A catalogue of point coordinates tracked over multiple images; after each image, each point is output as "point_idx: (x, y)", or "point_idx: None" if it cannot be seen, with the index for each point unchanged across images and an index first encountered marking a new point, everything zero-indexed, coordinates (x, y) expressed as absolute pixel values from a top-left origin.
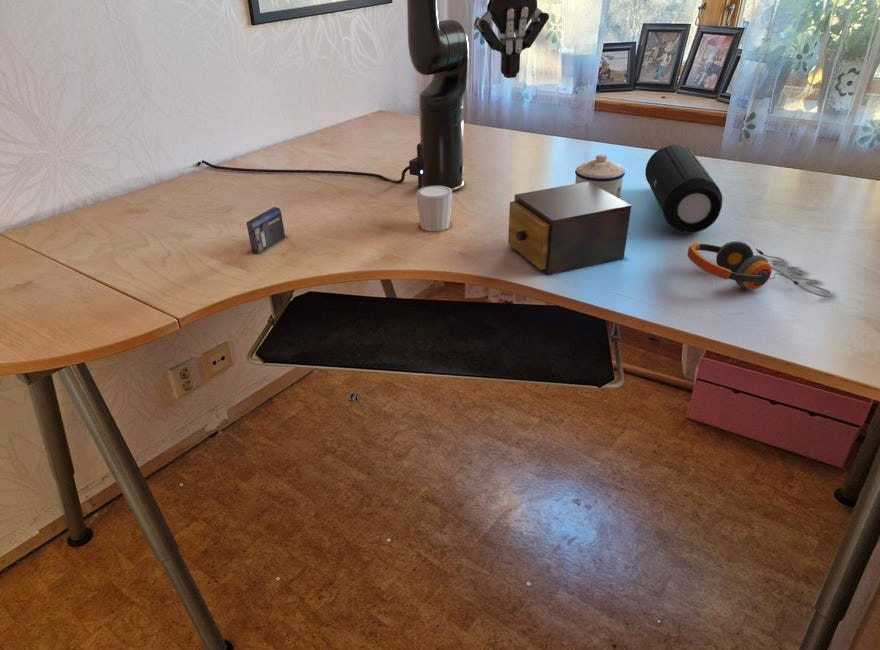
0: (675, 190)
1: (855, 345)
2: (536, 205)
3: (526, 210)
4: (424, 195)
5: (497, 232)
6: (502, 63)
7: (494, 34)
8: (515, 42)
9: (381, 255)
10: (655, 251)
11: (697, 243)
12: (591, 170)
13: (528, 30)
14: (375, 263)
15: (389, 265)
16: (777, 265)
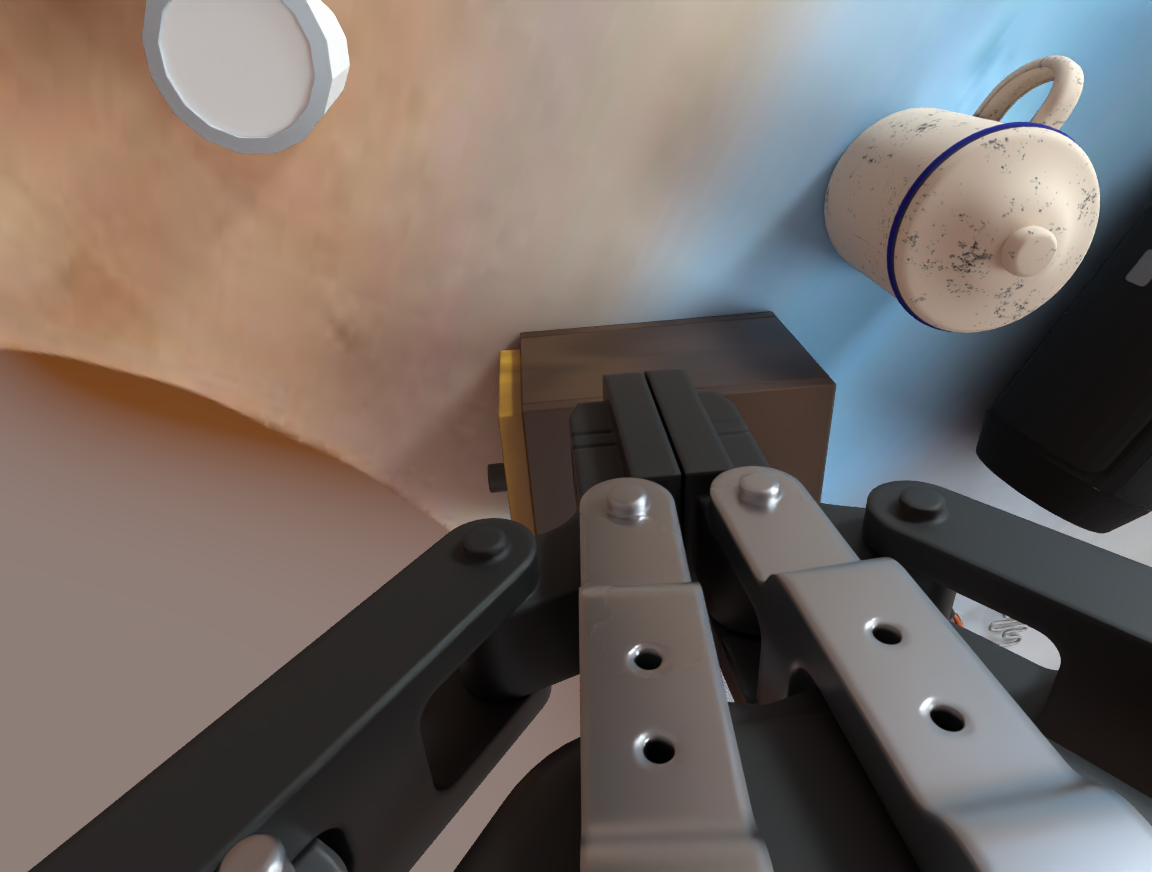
0: (1049, 473)
1: None
2: (552, 520)
3: (522, 499)
4: (182, 103)
5: (511, 215)
6: (576, 483)
7: (412, 847)
8: (731, 681)
9: (58, 256)
10: (854, 483)
11: None
12: (935, 278)
13: (1061, 659)
14: (42, 309)
15: (94, 338)
16: (993, 630)
